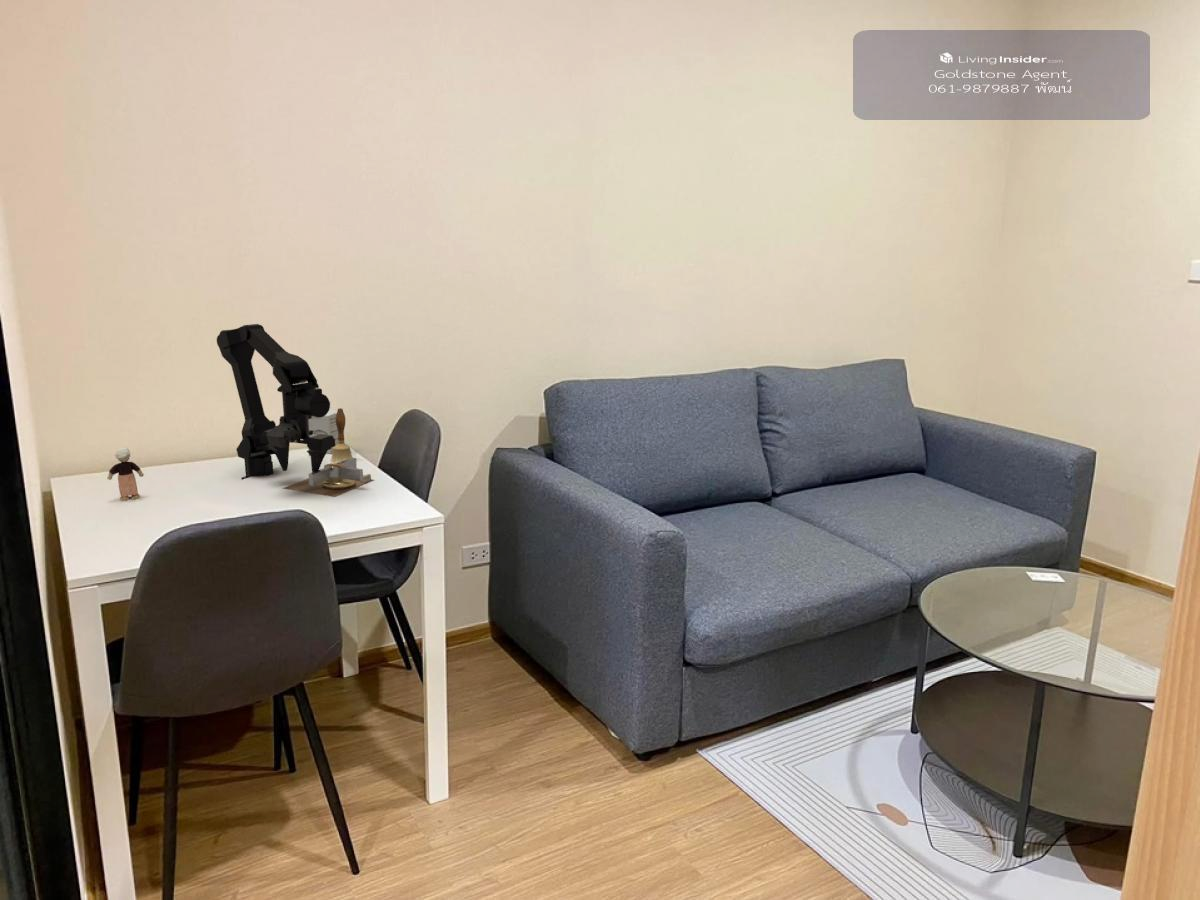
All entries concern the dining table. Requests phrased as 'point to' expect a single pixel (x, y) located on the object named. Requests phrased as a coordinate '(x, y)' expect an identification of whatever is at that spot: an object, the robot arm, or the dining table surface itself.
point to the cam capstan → (337, 475)
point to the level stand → (320, 490)
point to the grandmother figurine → (125, 474)
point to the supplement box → (325, 426)
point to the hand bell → (340, 440)
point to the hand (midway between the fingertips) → (299, 472)
